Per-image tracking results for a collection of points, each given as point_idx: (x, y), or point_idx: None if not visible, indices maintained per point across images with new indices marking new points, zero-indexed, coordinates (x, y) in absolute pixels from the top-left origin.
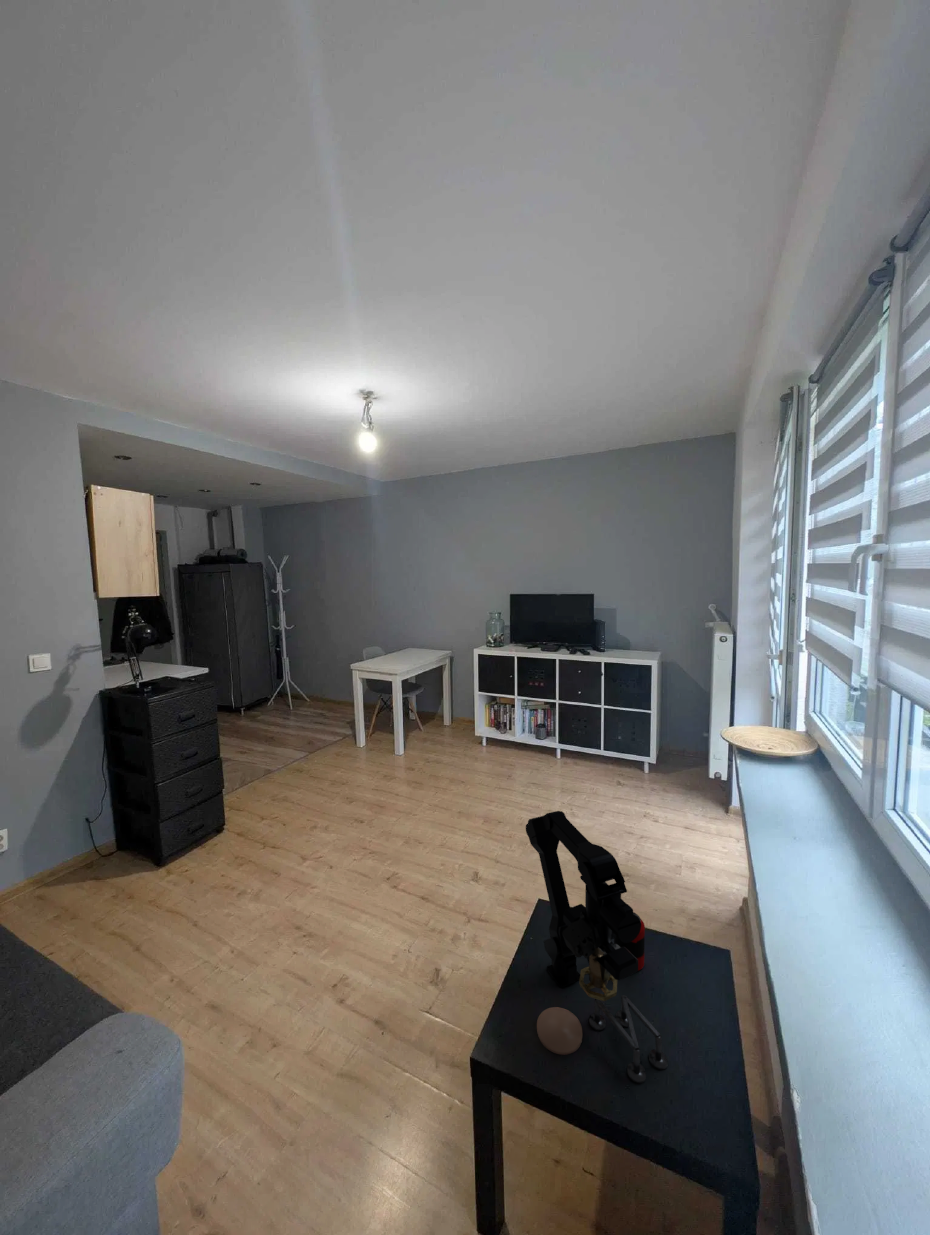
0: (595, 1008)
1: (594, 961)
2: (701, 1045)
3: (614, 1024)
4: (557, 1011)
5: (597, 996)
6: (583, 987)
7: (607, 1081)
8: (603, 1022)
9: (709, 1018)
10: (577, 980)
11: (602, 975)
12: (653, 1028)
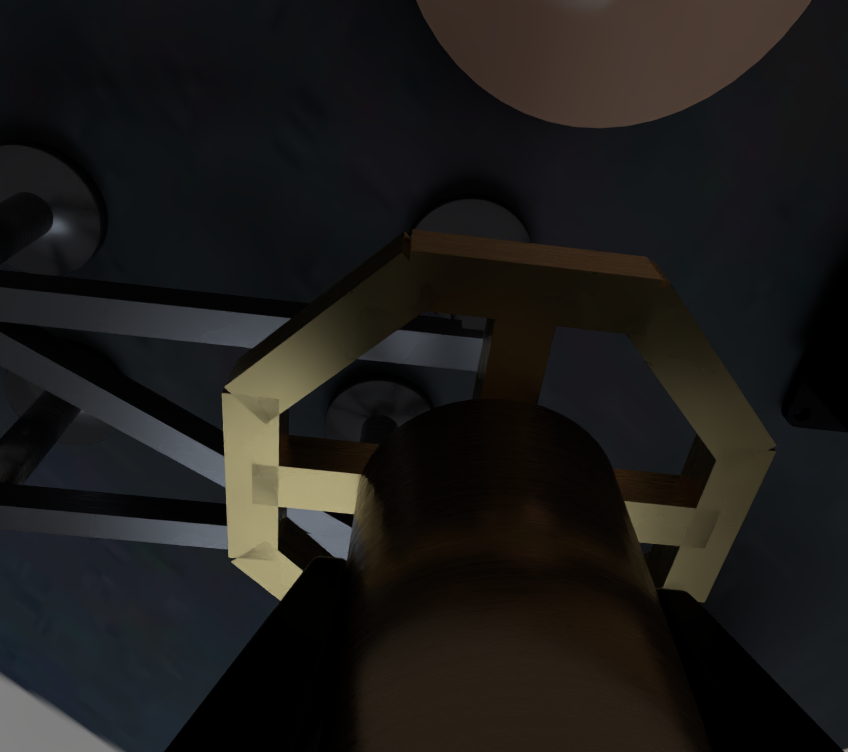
0: None
1: None
2: (71, 611)
3: (203, 299)
4: (752, 2)
5: (300, 325)
6: (549, 259)
7: None
8: None
9: (171, 720)
10: (794, 381)
11: (280, 662)
12: (28, 523)
